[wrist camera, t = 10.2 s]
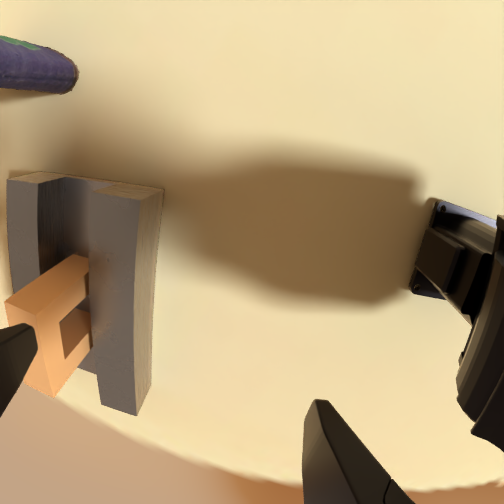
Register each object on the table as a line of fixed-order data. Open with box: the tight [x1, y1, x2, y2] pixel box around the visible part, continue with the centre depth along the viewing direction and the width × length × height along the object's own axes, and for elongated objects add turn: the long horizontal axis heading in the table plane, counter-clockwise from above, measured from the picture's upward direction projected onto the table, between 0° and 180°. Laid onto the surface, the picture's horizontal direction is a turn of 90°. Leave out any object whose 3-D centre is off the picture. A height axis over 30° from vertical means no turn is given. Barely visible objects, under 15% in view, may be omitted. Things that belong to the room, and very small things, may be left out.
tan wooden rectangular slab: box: [4, 254, 93, 398], centre depth 17 cm, size 2×6×8 cm, turn 168°
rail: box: [7, 171, 164, 416], centre depth 19 cm, size 10×16×4 cm, turn 169°
